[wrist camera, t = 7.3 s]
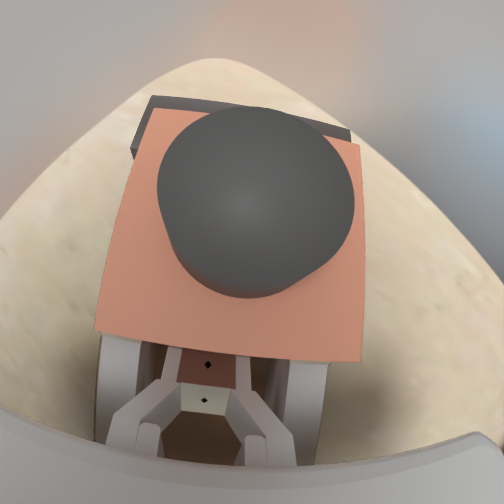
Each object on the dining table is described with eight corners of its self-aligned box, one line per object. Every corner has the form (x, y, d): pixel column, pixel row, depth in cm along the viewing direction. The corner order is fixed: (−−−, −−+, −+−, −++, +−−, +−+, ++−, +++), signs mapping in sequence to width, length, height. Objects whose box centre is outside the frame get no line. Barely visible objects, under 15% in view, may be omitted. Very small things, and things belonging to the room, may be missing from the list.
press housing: (300, 493, 13) (344, 550, 7) (97, 470, 12) (53, 522, 6) (328, 194, 19) (377, 135, 13) (142, 164, 18) (122, 91, 11)
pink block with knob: (263, 348, 15) (405, 365, 4) (164, 335, 14) (56, 324, 3) (273, 254, 16) (388, 107, 5) (180, 240, 16) (147, 60, 5)
